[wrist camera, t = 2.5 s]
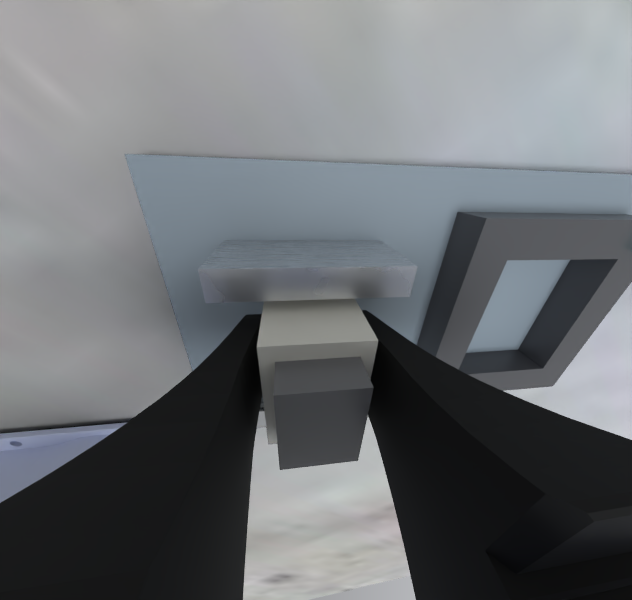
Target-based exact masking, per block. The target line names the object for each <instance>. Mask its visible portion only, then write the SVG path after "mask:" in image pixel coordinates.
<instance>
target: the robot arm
mask: <svg viewBox="0 0 632 600" xmlns="http://www.w3.org/2000/svg"><path fill="white" fill-rule="evenodd" d="M362 312H363V314H364V316H365V317H366V319H367V321H368V323H369V325H370V326H371V328H372V330H373V332H374V333H375V335H376V337H377V339H378V345H377V350H376V355H375V360H374V365H373V370H372V375H371V383H372V385H373V387H374V388H373V393H372V397H371V402H370V407H369V411H368V416H369V419H370V421H371V424H372V427H373V430H374V433H375V436H376V439H377V442H378V446H379V450H380V453H381V457H382V460H383V464H384V467H385V471H386V475H387V479H388V483H389V487H390V490H391V494H392V498H393V502H394V506H395V510H396V514H397V518H398V522H399V526H400V531H401V535H402V539H403V543H404V547H405V552H406V556H407V561H408V565H409V570H410V574H411V579H412V583H413V587H414V592H415V597H416V600H632V440H630V439H627V438H624V437H621V436H618V435H616V434H613V433H610V432H607V431H604V430H601V429H598V428H596V427H593V426H590V425H587V424H584V423H581V422H578V421H576V420H573V419H570V418H567V417H565V416H562V415H560V414H557V413H555V412H552V411H550V410H547V409H544V408H542V407H539V406H537V405H534V404H532V403H529V402H527V401H525V400H522V399H520V398H518V397H515V396H513V395H510V394H508V393H506V392H504V391H502V390H499V389H497V388H495V387H493V386H491V385H489V384H486V383H484V382H482V381H480V380H478V379H476V378H474V377H472V376H470V375H468V374H466V373H464V372H462V371H460V370H458V369H456V368H455V367H453V366H451V365H449V364H447V363H445V362H443V361H442V360H440V359H438V358H437V357H435V356H433V355H431V354H430V353H428V352H427V351H425V350H423V349H422V348H420V347H419V346H417V345H416V344H414V343H413V342H411V341H410V340H408V339H407V338H405V337H404V336H402V335H401V334H399V333H398V332H396V331H395V330H394V329H392V328H391V327H389V326H388V325H387V324H385V323H384V322H383V321H381V320H380V319H378V318H377V317H376V316H374V315H373V314H371V313H370V312H368V311H367V310H362ZM261 317H262V314H249V315H245V316H244V317H243V318H242V319H241V321H240V322H239V323H238V324H237V325H236V327H235V328H234V329H233V330H232V331H231V332H230V333H229V335H228V336H227V337H226V338H225V339H224V340H223V341H222V342H221V343H220V345H219V346H218V347H217V348H216V349H215V350H214V351H213V352H212V353H211V354H210V355H209V356H208V357H207V358H206V359H205V360H204V361H203V362H202V363H201V364H200V365H199V366H198V367H197V368H196V369H195V370H194V371H192V372H191V373H190V374H189V375H188V376H187V377H186V378H185V379H183V380H182V381H181V382H180V383H179V384H177V385H176V386H175V387H174V388H173V389H171V390H170V391H169V392H168V393H166V394H165V395H164V396H163V397H161V398H160V399H159V400H157V401H156V402H155V403H153V404H152V405H151V406H149V407H148V408H146V409H145V410H144V411H142V412H141V413H140V414H138V415H137V416H136V417H134V418H133V419H131V420H130V421H129V422H127V423H115V424H104V425H93V426H81V427H70V428H58V429H47V430H36V431H24V432H13V433H1V434H0V600H243V585H244V568H245V553H246V538H247V523H248V509H249V496H250V483H251V471H252V459H253V448H254V441H255V434H256V428H257V422H258V417H259V411H260V405H261V399H262V387H261V379H260V370H259V362H258V354H257V342H258V336H259V329H260V323H261Z"/></svg>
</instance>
